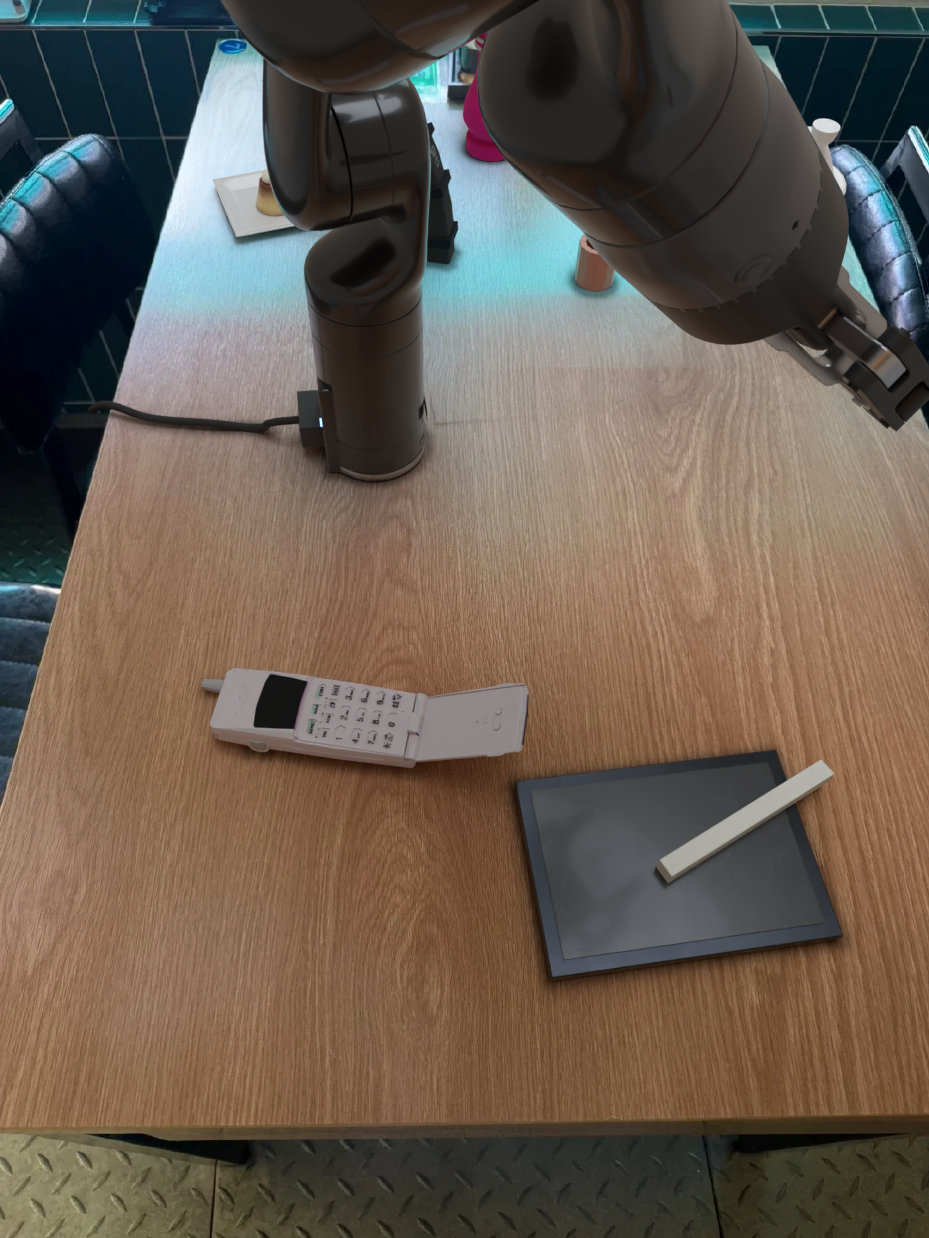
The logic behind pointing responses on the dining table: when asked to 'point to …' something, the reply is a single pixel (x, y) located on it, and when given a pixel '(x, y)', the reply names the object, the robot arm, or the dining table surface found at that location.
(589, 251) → the pen holder
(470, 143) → the pepper mill
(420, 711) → the mobile phone
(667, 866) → the stylus
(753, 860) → the tablet
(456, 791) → the dining table surface
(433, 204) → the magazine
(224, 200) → the dessert
